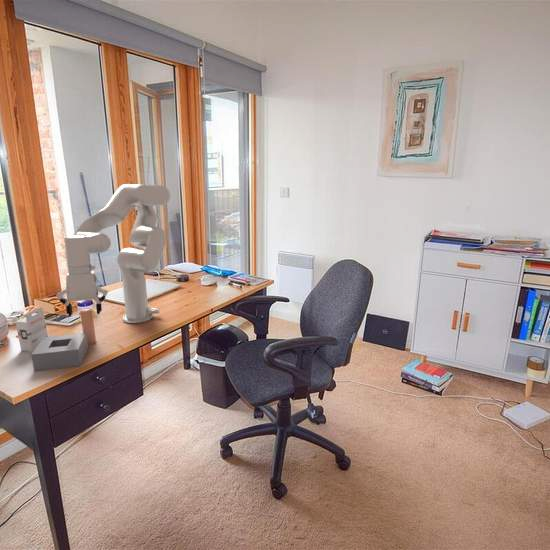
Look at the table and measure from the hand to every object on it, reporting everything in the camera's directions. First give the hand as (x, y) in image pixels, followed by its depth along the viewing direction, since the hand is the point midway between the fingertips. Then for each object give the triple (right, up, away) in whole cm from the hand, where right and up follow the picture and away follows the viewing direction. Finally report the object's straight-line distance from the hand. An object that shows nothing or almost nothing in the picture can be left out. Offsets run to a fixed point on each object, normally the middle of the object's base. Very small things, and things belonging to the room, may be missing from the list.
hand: (84, 314), depth 147 cm
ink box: (-19, -12, 0) cm, 23 cm away
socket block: (-3, -15, -9) cm, 18 cm away
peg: (0, -11, +4) cm, 12 cm away
